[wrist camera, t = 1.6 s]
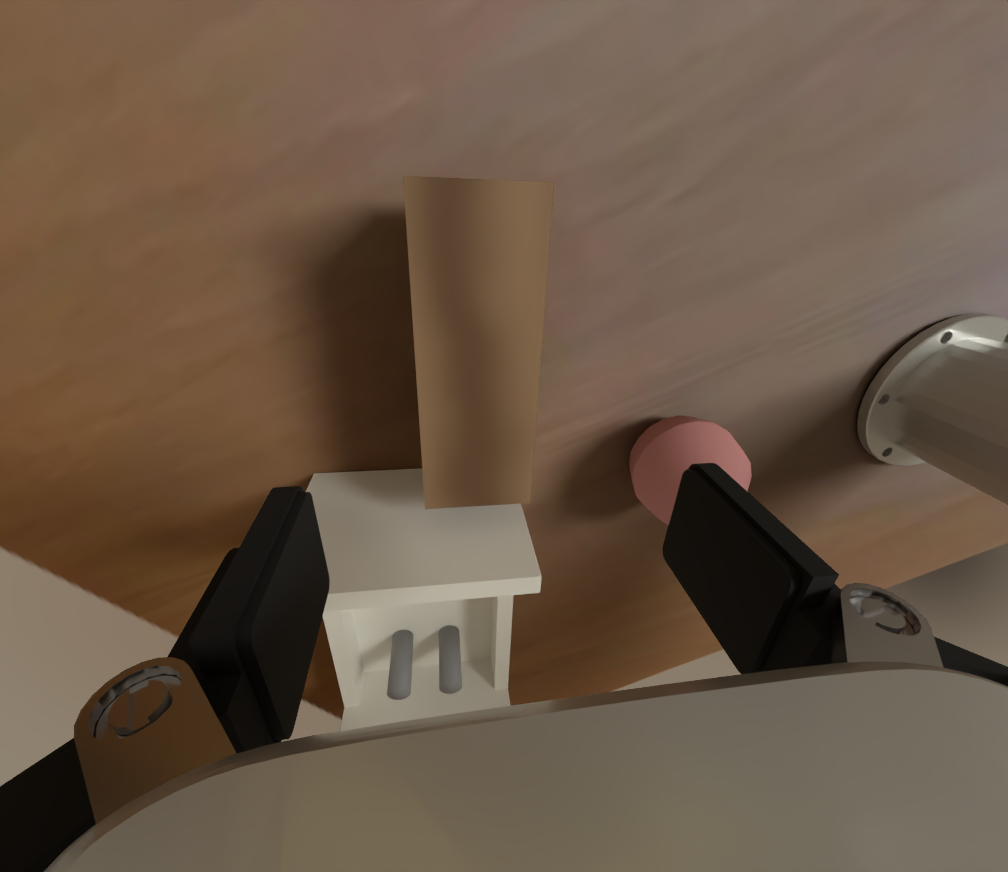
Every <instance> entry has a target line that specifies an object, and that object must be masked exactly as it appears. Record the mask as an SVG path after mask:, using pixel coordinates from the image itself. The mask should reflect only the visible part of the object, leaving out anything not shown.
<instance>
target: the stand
mask: <svg viewBox="0 0 1008 872" xmlns="http://www.w3.org/2000/svg"><path fill="white" fill-rule="evenodd" d="M306 492H310V493H311V495H312V498H313V503H314V508H315V512H316V517H317V522H318V526H319V531H320V535H321V540H322V545H323V549H324V554H325V559H326V563H327V568H328V573H329V579H330V586H329V592H328V596H327V600H326V604H325V608H324V612H323V620H324V624H325V628H326V632H327V636H328V641H329V645H330V649H331V653H332V657H333V662H334V666H335V670H336V674H337V678H338V683H339V687H340V691H341V695H342V699H343V703H344V712H343V718H342V723H341V729H340V731H345V730H351V729H357V728H363V727H369V726H376V725H382V724H388V723H394V722H401V721H408V720H415V719H422V718H429V717H436V716H443V715H449V714H456V713H463V712H470V711H477V710H484V709H491V708H498V707H505V706H510V699H509V692H508V678H509V661H510V644H511V627H512V610H513V595H520V594H531V593H540V588H541V578H542V576H541V572H540V569H539V565H538V562H537V558H536V555H535V551H534V548H533V544H532V541H531V537H530V534H529V530H528V527H527V523H526V520H525V516H524V513H523V509H522V506H521V504H505V505H488V506H471V507H454V508H437V509H425V500H424V485H423V470H422V468H420V469H398V470H376V471H355V472H333V473H314V474H313V477H312V479H311V481H310V483H309V485H308V488H307V490H306Z"/></svg>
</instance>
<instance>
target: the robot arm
mask: <svg viewBox="0 0 1008 872" xmlns="http://www.w3.org/2000/svg"><path fill="white" fill-rule="evenodd" d="M857 429H858V437H859V439H860V442H861V444H862V446H863V447H864V448H865V450H866V451H867V452H868V453H869V454H871V455H873V456H874V457H876V458H877V459H879V460H881V461H883V462H885V463H888V464H891V465H898V466H908V465H916V464H921V463H925V462H927V463H929V464H931V465H933V466H935V467H937V468H939V469H941V470H943V471H944V472H946V473H948V474H950V475H952V476H954V477H956V478H958V479H960V480H962V481H963V482H965V483H967V484H969V485H971V486H973V487H975V488H977V489H979V490H981V491H982V492H984V493H986V494H988V495H990V496H992V497H994V498H996V499H998V500H1000V501H1001V502H1003V503H1005V504H1007V505H1008V320H1007V319H1004V318H1002V317H998V316H993V315H988V314H965V315H960V316H955V317H952V318H950V319H947V320H944V321H942V322H939V323H937V324H935V325H933V326H932V327H930V328H928V329H926V330H924V331H922V332H921V333H919V334H918V335H917V336H915V337H914V338H912V339H911V340H910V341H908V342H907V343H906V344H904V345H903V346H902V347H901V348H900V349H899V350H898V351H897V352H896V353H895V354H894V355H892V356H891V358H890V359H889V360H888V361H887V362H886V363H885V364H884V366H883V367H882V368H881V369H880V370H879V372H878V373H877V375H876V376H875V378H874V379H873V381H872V382H871V384H870V385H869V387H868V389H867V391H866V393H865V395H864V397H863V400H862V403H861V406H860V409H859V414H858V422H857ZM663 556H664V559H665V561H666V562H667V564H668V565H669V567H670V568H671V570H672V571H673V573H674V574H675V576H676V578H677V579H678V581H679V582H680V584H681V585H682V587H683V588H684V590H685V591H686V593H687V594H688V596H689V597H690V599H691V600H692V602H693V603H694V605H695V606H696V608H697V609H698V611H699V612H700V614H701V615H702V617H703V618H704V620H705V621H706V623H707V624H708V626H709V627H710V629H711V630H712V632H713V634H714V635H715V637H716V638H717V640H718V641H719V643H720V644H721V646H722V647H723V649H724V650H725V652H726V653H727V655H728V656H729V658H730V659H731V661H732V662H733V664H734V665H735V667H736V668H737V670H738V671H739V672H740V673H741V675H733V676H726V677H718V678H711V679H703V680H695V681H688V682H680V683H672V684H665V685H658V686H651V687H643V688H635V689H628V690H621V691H613V692H606V693H599V694H592V695H584V696H577V697H570V698H563V699H555V700H548V701H541V702H534V703H526V704H519V705H512V706H505V707H498V708H491V709H484V710H477V711H470V712H463V713H456V714H449V715H443V716H436V717H429V718H422V719H415V720H408V721H401V722H394V723H388V724H382V725H376V726H369V727H363V728H357V729H351V730H345V731H338V732H332V733H326V734H320V735H313V736H309V737H304V738H299V739H294V740H290V741H284V742H281V740H284V739H289V738H290V736H291V734H292V732H293V729H294V725H295V721H296V717H297V713H298V709H299V705H300V701H301V698H302V694H303V690H304V686H305V682H306V678H307V674H308V670H309V666H310V663H311V659H312V655H313V651H314V647H315V643H316V639H317V635H318V631H319V628H320V624H321V620H322V616H323V612H324V608H325V604H326V600H327V596H328V592H329V586H330V579H329V573H328V568H327V563H326V559H325V554H324V549H323V545H322V540H321V535H320V531H319V526H318V522H317V517H316V512H315V508H314V503H313V498H312V495H311V493H310V492H303V489H302V488H301V487H300V486H294V487H277V488H273V489H272V490H271V491H270V493H269V495H268V497H267V499H266V500H265V502H264V504H263V506H262V508H261V510H260V511H259V513H258V515H257V517H256V519H255V520H254V522H253V524H252V526H251V528H250V530H249V531H248V533H247V535H246V537H245V539H244V541H243V542H242V544H241V546H240V548H233V549H232V550H230V551H229V552H228V553H227V555H226V556H225V558H224V560H223V561H222V563H221V565H220V567H219V568H218V570H217V572H216V573H215V575H214V577H213V579H212V580H211V582H210V584H209V586H208V587H207V589H206V591H205V593H204V594H203V596H202V598H201V600H200V601H199V603H198V605H197V607H196V608H195V610H194V612H193V613H192V615H191V617H190V619H189V620H188V622H187V624H186V626H185V627H184V629H183V631H182V633H181V634H180V636H179V638H178V640H177V641H176V643H175V645H174V647H173V648H172V650H171V652H170V654H169V655H168V657H166V658H156V659H152V660H148V661H145V662H141V663H139V664H137V665H135V666H133V667H131V668H129V669H126V670H124V671H123V672H121V673H120V674H118V675H117V676H115V677H114V678H112V679H111V680H109V681H108V682H107V683H105V684H104V685H103V686H102V687H101V688H100V689H99V690H98V691H97V692H96V693H94V694H93V695H92V697H91V698H90V699H89V700H88V702H87V703H86V704H85V706H84V707H83V708H82V710H81V711H80V714H79V716H78V718H77V721H76V723H75V725H74V738H73V739H72V740H70V741H69V742H67V743H65V744H64V745H62V746H61V747H59V748H58V749H56V750H55V751H53V752H52V753H50V754H49V755H47V756H46V757H44V758H43V759H41V760H40V761H38V762H37V763H35V764H34V765H32V766H31V767H29V768H28V769H26V770H25V771H23V772H22V773H20V774H19V775H17V776H16V777H14V778H13V779H11V780H10V781H8V782H6V783H5V784H4V785H2V786H1V787H0V872H1008V667H1007V666H1004V665H1002V664H999V663H997V662H994V661H992V660H990V659H987V658H984V657H982V656H980V655H977V654H975V653H972V652H970V651H968V650H965V649H962V648H960V647H958V646H955V645H953V644H950V643H948V642H946V641H943V640H941V639H938V638H936V637H934V636H933V633H932V629H931V627H930V625H929V623H928V621H927V619H926V618H925V617H924V616H923V615H922V614H921V613H920V612H919V611H918V610H917V609H916V608H915V607H914V606H912V605H911V604H910V603H909V602H907V601H906V600H904V599H903V598H901V597H899V596H897V595H895V594H894V593H892V592H890V591H887V590H885V589H882V588H880V587H877V586H873V585H869V584H863V583H852V584H847V585H846V586H845V587H843V588H842V589H839V588H838V587H837V586H836V585H835V584H834V583H835V581H836V579H837V578H838V576H839V574H838V573H837V572H835V571H834V570H833V569H832V568H831V567H830V566H829V565H828V564H827V563H825V562H824V561H823V560H822V559H821V558H820V557H819V556H818V555H817V554H816V553H814V552H813V551H812V550H811V549H810V548H809V547H808V546H807V545H806V544H805V543H803V542H802V541H801V540H800V539H799V538H798V537H797V536H796V535H795V534H794V533H792V532H791V531H790V530H789V529H788V528H787V527H786V526H785V525H784V524H783V523H781V522H780V521H779V520H778V519H777V518H776V517H775V516H774V515H773V514H771V513H770V512H769V511H768V510H767V509H766V508H765V507H764V506H763V505H762V504H760V503H759V502H758V501H757V500H756V499H755V498H754V497H753V496H752V495H751V494H749V493H748V492H747V491H746V490H745V489H744V488H743V487H742V486H741V485H740V484H738V483H737V482H736V481H735V480H734V479H733V478H732V477H731V476H730V475H729V474H727V473H726V472H725V471H724V470H723V469H722V468H721V467H720V466H719V465H717V464H716V463H699V464H692V465H690V467H689V468H688V470H685V471H684V472H683V474H682V478H681V481H680V485H679V489H678V493H677V496H676V500H675V504H674V507H673V511H672V515H671V519H670V522H669V526H668V530H667V533H666V537H665V541H664V545H663Z"/></svg>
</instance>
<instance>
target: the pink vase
mask: <svg viewBox="0 0 1008 872" xmlns="http://www.w3.org/2000/svg"><path fill="white" fill-rule="evenodd" d="M699 463H716V464H717V465H719V466H720V467H721V468H722V469H723V470H724V471H725V472H726V473H727V474H729V475H730V476H731V477H732V478H733V479H734V480H735V481H736V482H737V483H738V484H740V485H741V486H742V487H743V488H744V489H745V490H746V491H747V492H748V488H749V485H750V481H751V477H752V475H751V462H750V461H749V459H748V458H747V456H746V454H745V453H744V451H743V450H742V448H741V447H740V446H739V445H738V443H737V442H736V441H735V439H734V438H733V437H732V435H731V434H730V433H729V431H727V430H726V429H724V428H722V427H720V426H719V425H717V424H715V423H712V422H709V421H705V420H701V419H698V418H694V417H687V416H675V417H670V418H665V419H663V420H661V421H659V422H657V423H655V424H653V425H652V426H650V427H649V428H648V429H647V430H646V431H645V432H644V433H643V434H642V435H640V436H639V437H638V439H637V441H636V443H635V444H634V446H633V448H632V450H631V454H630V459H629V467H630V473H631V478H632V483H633V487H634V491H635V495H636V497H637V498H638V499H639V500H640V502H641V503H642V504H643V505H644V506H645V507H646V508H647V509H648V510H649V511H650V512H651V513H653V514H654V515H655V516H656V517H657V518H658V519H659V520H661V521H662V522H663V523H665V524H667V525H669V522H670V519H671V515H672V511H673V507H674V504H675V500H676V496H677V493H678V489H679V485H680V481H681V478H682V474H683V472H684V471H685V470H688V468H689V467H690V465H692V464H699Z"/></svg>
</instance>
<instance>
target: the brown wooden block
mask: <svg viewBox="0 0 1008 872" xmlns="http://www.w3.org/2000/svg"><path fill="white" fill-rule="evenodd" d="M403 184H404V199H405V214H406V229H407V244H408V259H409V275H410V290H411V305H412V320H413V335H414V350H415V365H416V380H417V395H418V410H419V425H420V440H421V455H422V470H423V485H424V500H425V509H437V508H454V507H471V506H488V505H505V504H522V503H531V489H532V476H533V462H534V449H535V436H536V422H537V409H538V396H539V382H540V369H541V355H542V342H543V329H544V315H545V302H546V289H547V275H548V262H549V248H550V235H551V222H552V208H553V195H554V183H551V182H529V181H506V180H484V179H461V178H439V177H416V176H403Z"/></svg>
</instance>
